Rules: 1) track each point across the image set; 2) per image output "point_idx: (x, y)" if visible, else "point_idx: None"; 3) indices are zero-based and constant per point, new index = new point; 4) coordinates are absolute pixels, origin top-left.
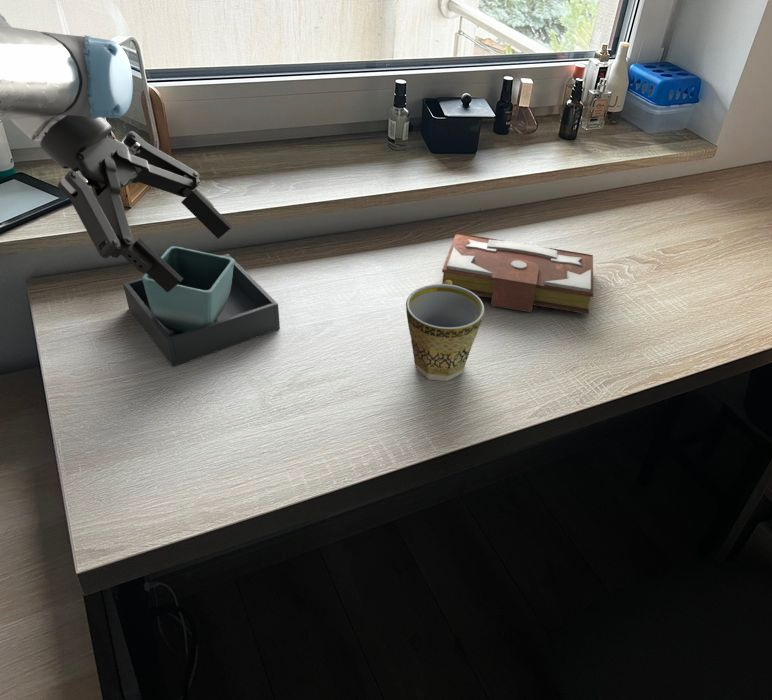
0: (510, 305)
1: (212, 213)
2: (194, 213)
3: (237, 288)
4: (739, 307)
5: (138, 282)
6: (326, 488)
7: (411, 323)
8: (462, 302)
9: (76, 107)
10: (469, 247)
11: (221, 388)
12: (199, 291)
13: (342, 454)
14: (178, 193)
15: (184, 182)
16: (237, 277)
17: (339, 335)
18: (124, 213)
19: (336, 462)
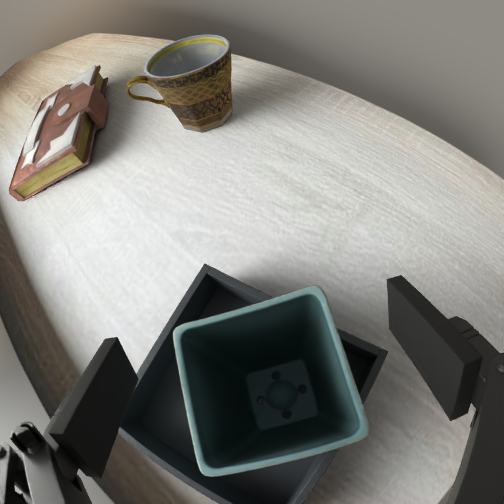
0: (104, 113)
1: (98, 379)
2: (111, 437)
3: (158, 391)
4: (85, 53)
5: None
6: (405, 120)
7: (220, 69)
8: (157, 71)
9: None
10: (33, 160)
11: (372, 271)
12: (328, 305)
13: (368, 123)
14: (81, 488)
15: (45, 465)
16: (145, 391)
17: (197, 210)
18: (474, 461)
19: (379, 124)
